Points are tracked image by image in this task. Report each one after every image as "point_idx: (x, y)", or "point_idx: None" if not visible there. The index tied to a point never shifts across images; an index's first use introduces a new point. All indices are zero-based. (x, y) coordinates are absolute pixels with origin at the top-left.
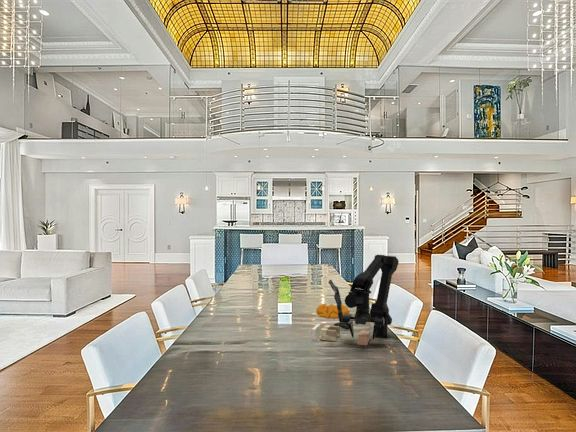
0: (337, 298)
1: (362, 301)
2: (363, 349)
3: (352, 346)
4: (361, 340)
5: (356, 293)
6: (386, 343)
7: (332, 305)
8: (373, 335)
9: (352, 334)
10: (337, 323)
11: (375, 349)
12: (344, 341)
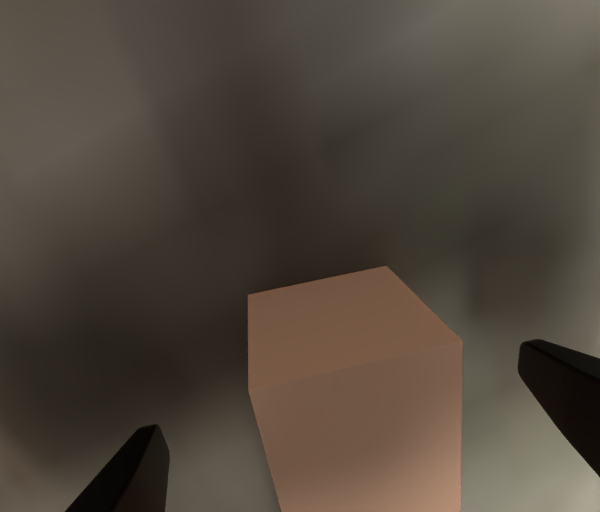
0: None
1: None
2: (214, 39)
3: (446, 127)
4: (351, 311)
5: None
6: (33, 501)
7: None
8: (93, 508)
9: (593, 370)
10: None
11: (9, 156)
12: (585, 299)
